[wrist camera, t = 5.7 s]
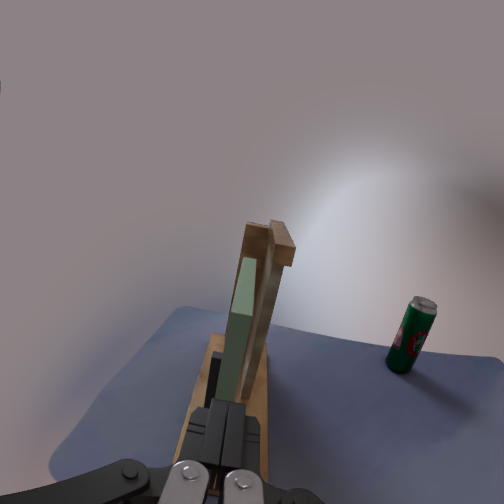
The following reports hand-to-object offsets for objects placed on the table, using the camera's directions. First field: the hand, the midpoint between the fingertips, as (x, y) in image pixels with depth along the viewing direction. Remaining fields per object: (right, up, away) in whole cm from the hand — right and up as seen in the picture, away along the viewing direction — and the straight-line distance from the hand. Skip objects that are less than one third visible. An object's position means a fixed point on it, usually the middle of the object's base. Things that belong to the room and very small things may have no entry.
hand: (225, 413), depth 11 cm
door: (-2, -9, +13) cm, 16 cm away
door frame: (-1, -10, +17) cm, 20 cm away
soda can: (+25, -12, +29) cm, 41 cm away
